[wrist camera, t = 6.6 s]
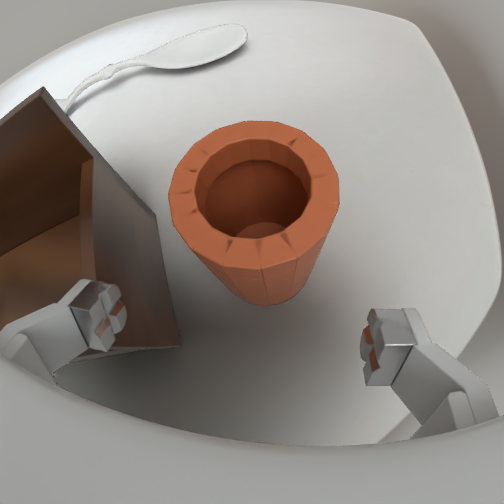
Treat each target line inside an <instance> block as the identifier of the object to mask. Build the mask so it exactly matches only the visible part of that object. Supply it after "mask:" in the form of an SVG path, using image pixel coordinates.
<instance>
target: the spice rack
mask: <svg viewBox="0 0 504 504" xmlns="http://www.w3.org/2000/svg"><path fill="white" fill-rule="evenodd" d="M81 279H88V280H93V281H100V282H105V283H110V284H115V285H117V286H118V287H119V288H120V291H121V294H122V295H121V297H120V300H121V301H122V303H123V304H124V305H125V308H126V311H127V319H126V323H125V326H124V327H123V329H122V331H120V332H118V333H116V334H115V338H116V340H115V341H114V343H113V344H112V346H111V347H110V349H109V350H108V352H103V351H100V350H96V349H92V348H89V347H88V349H87V350H86V351H84V352H83V353H81V354H80V355H78V356H77V357H76V358H74V359H73V360H71V361H70V362H68V363H72V362H78V361H84V360H90V359H96V358H102V357H107V356H113V355H118V354H123V353H128V352H133V351H138V350H142V349H165V348H175V347H179V346H181V341H180V337H179V333H178V329H177V325H176V320H175V316H174V312H173V307H172V303H171V298H170V293H169V289H168V284H167V279H166V274H165V268H164V263H163V257H162V252H161V246H160V240H159V234H158V227H157V221H156V215H155V214H154V213H153V212H152V211H151V210H150V209H149V208H148V206H147V205H146V204H145V203H144V202H143V201H142V200H141V199H140V198H139V197H138V196H137V195H136V193H135V192H134V191H133V190H132V189H131V188H130V187H129V186H128V185H127V184H126V182H125V181H124V180H123V179H122V178H121V177H120V176H119V175H118V174H117V172H116V171H115V170H114V169H113V168H112V167H111V166H110V165H109V163H108V162H107V161H106V160H105V159H104V158H103V157H102V155H101V154H100V153H99V152H98V151H97V150H96V149H95V148H94V147H93V145H92V144H91V143H90V142H89V141H88V140H87V138H86V137H85V136H84V135H83V134H82V133H81V131H80V130H79V129H78V128H77V127H76V125H75V124H74V123H73V122H72V121H71V119H70V118H69V117H68V116H67V115H66V113H65V112H64V111H63V110H62V108H61V107H60V106H59V105H58V104H57V102H56V101H55V100H54V99H53V97H52V96H51V95H50V94H49V92H48V91H47V90H46V89H45V87H44V86H43V87H41V88H40V89H39V90H37V91H36V92H34V93H33V94H32V95H30V96H29V97H28V98H26V99H25V100H24V101H22V102H21V103H20V104H19V105H17V106H16V107H15V108H14V109H12V110H11V111H10V112H9V113H8V114H6V115H5V116H4V117H3V118H2V119H1V120H0V331H1V330H2V329H3V328H4V327H5V326H6V325H7V324H9V323H11V322H13V321H15V320H18V319H20V318H22V317H24V316H26V315H28V314H31V313H33V312H35V311H37V310H40V309H42V308H44V307H46V306H48V305H51V304H53V303H56V304H57V303H58V302H59V301H60V300H61V299H62V298H63V297H64V296H65V295H66V294H67V293H68V292H69V291H70V290H71V289H72V288H73V287H74V286H75V285H76V284H77V283H78V282H79V281H80V280H81Z"/></svg>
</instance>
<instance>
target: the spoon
mask: <svg viewBox="0 0 504 504" xmlns="http://www.w3.org/2000/svg"><path fill="white" fill-rule="evenodd" d="M247 37H248V33H247V31H246V29H245V28H244V27H243V26H241V25H237V24H224V25H219V26H214V27H210V28H206V29H203V30H200V31H197V32H194V33H192V34H189V35H186V36H184V37H181V38H178V39H176V40H174V41H171V42H169V43H167V44H165V45H163V46H161V47H159V48H157V49H155V50H153V51H151V52H149V53H146V54H144V55H141V56H138V57H135V58H132V59H128V60H125V61H122V62H119V63H116V64H109V65H107V66H106V67H105V68H104V69H102V70H101V71H99V72H98V73H96V74H94V75H92V76H91V77H89V78H87V79H86V80H84V81H83V82H82V83H80V84H79V85H78V86H77V87H76V89H75V90H74V91H73V92H72V94H71V95H70V96H69V97H68V98H67V99H56V100H55V101H56V102H57V104H58V105H59V106H60V107H61V108H62V110H63V111H64V112H65V113H66V112H67V110H68V109H69V108H70V106H71V105H72V103H73V102H74V101H75V99H76V98H77V97H78V96H79V95H80V94H81V93H82V92H83V91H84V90H85V89H86V88H87V87H89V86H91V85H92V84H94V83H96V82H98V81H100V80H103V79H105V80H106V79H109V78H111V77H112V76H113V75H114V74H115V73H116V72H118V71H120V70H122V69H125V68H128V67H133V66H148V67H155V68H163V69H181V68H189V67H194V66H198V65H202V64H206V63H209V62H212V61H214V60H217V59H219V58H222V57H224V56H226V55H228V54H230V53H231V52H233V51H235V50H236V49H238V48H239V47H240V46H242V45H243V44H244V43H245V42H246V40H247Z"/></svg>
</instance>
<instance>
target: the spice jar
mask: <svg viewBox="0 0 504 504" xmlns="http://www.w3.org/2000/svg"><path fill="white" fill-rule="evenodd" d="M168 195H169V197H168V198H169V205H170V210H171V216H172V222H173V225H174V227H175V228H176V230H177V231H178V232H179V234H180V235H181V237H182V238H183V239H184V241H185V242H186V243H187V245H188V246H189V248H190V249H191V250H192V251H193V252H194V253H195V254H196V255H197V256H198V257H199V258H200V259H201V260H202V261H203V262H204V263H205V264H206V266H207V267H208V268H209V269H210V270H211V271H212V272H213V273H214V274H215V275H216V276H217V277H218V278H219V279H220V280H221V281H222V282H223V283H224V284H225V285H226V286H227V287H228V288H229V289H230V290H231V291H232V292H233V293H234V294H235V295H237V296H238V297H240V298H241V299H243V300H245V301H247V302H249V303H252V304H256V305H266V306H268V305H275V304H279V303H282V302H285V301H287V300H288V299H290V298H292V297H293V296H294V295H296V294H297V293H298V292H299V291H300V290H301V289H302V288H303V286H304V284H305V282H306V281H307V278H308V276H309V275H310V273H311V270H312V268H313V266H314V264H315V262H316V259H317V257H318V255H319V253H320V250H321V248H322V246H323V244H324V241H325V239H326V237H327V234H328V232H329V230H330V227H331V225H332V223H333V220H334V218H335V216H336V213H337V211H338V208H339V178H338V174H337V172H336V170H335V168H334V166H333V164H332V162H331V160H330V158H329V156H328V155H327V153H326V151H325V150H324V148H323V147H321V146H320V145H319V144H318V143H317V142H315V141H314V140H313V139H312V138H311V137H309V136H308V135H307V134H306V133H305V132H303V131H301V130H299V129H296V128H293V127H290V126H288V125H285V124H282V123H279V122H272V121H243V122H240V123H236V124H232V125H229V126H225V127H222V128H219V129H216V130H215V131H213V132H211V133H210V134H208V135H207V136H205V137H204V138H202V139H201V140H199V141H198V142H196V143H195V144H194V146H192V147H191V148H190V150H189V151H188V152H187V154H186V155H185V156H184V157H183V159H182V160H181V161H180V163H179V164H178V165H177V168H176V169H175V171H174V175H173V178H172V182H171V186H170V190H169V193H168Z"/></svg>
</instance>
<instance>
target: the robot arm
mask: <svg viewBox="0 0 504 504" xmlns="http://www.w3.org/2000/svg"><path fill="white" fill-rule="evenodd" d="M121 295H122V294H121V291H120V288H119V287H118V286H117V285H115V284H110V283H105V282H100V281H93V280H88V279H81V280H80V281H79V282H78V283H77V284H76V285H75V286H74V287H73V288H72V289H71V290H70V291H69V292H68V293H67V294H66V295H65V296H64V297H63V298H62V299H61V300H60V301H59V302H58V303H57V304H56V303H53V304H51V305H48V306H46V307H44V308H42V309H40V310H37V311H35V312H33V313H31V314H28V315H26V316H24V317H22V318H20V319H18V320H15V321H13V322H11V323H9V324H7V325H6V326H5V327H4V328H3V329H2V330H1V331H0V504H504V415H503V416H500V417H499V415H498V412H497V409H496V406H495V404H494V401H493V399H492V396H491V393H490V391H489V388H488V386H487V384H486V383H484V382H483V381H482V380H481V379H480V378H478V377H477V376H476V375H475V374H474V373H472V372H471V371H470V370H469V369H467V368H466V367H465V366H464V365H462V364H461V363H460V362H459V361H458V360H456V359H455V358H454V357H453V356H451V355H450V354H449V353H448V352H446V351H445V350H444V349H442V348H441V347H440V346H439V345H437V344H433V343H432V341H431V339H430V337H429V334H428V332H427V330H426V328H425V325H424V323H423V321H422V319H421V317H420V315H419V312H418V311H417V310H416V309H415V308H409V309H372V308H371V310H370V312H369V314H368V317H367V321H368V326H367V327H366V328H365V329H363V332H362V336H361V341H360V354H361V358H362V359H363V360H364V361H365V362H366V363H365V366H364V368H363V372H364V378H365V384H366V386H391V388H392V389H393V390H394V391H395V393H396V394H397V395H398V396H399V398H400V399H401V400H402V401H403V403H404V404H405V405H406V406H407V408H408V409H409V410H410V411H411V412H412V414H413V415H414V416H415V417H416V419H417V420H418V421H419V422H420V424H421V425H422V426H421V427H420V428H419V429H418V430H417V431H416V432H415V433H414V434H413V435H412V437H411V438H410V439H409V440H402V441H395V442H387V443H377V444H366V445H349V446H294V445H277V444H265V443H256V442H247V441H239V440H232V439H226V438H220V437H214V436H208V435H203V434H198V433H193V432H189V431H184V430H180V429H176V428H172V427H168V426H164V425H160V424H157V423H153V422H150V421H146V420H143V419H140V418H137V417H133V416H130V415H127V414H124V413H121V412H118V411H116V410H113V409H110V408H107V407H105V406H102V405H100V404H97V403H94V402H92V401H90V400H87V399H85V398H82V397H80V396H78V395H75V394H73V393H71V392H69V391H67V390H65V389H62V388H60V387H58V386H57V382H56V380H55V379H54V378H53V376H52V375H51V374H52V373H54V372H55V371H57V370H58V369H60V368H61V367H63V366H64V365H65V364H67V363H68V362H70V361H71V360H73V359H74V358H76V357H77V356H78V355H80V354H81V353H83V352H84V351H86V350H87V349H88V347H89V348H92V349H96V350H100V351H103V352H108V350H109V349H110V347H111V346H112V344H113V343H114V341H115V340H116V338H115V334H116V333H118V332H120V331H122V329H123V327H124V326H125V323H126V319H127V311H126V308H125V305H124V304H123V303H122V301H121V300H120V297H121Z"/></svg>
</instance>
